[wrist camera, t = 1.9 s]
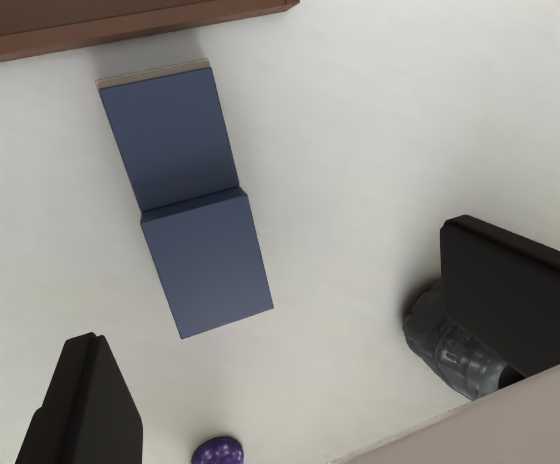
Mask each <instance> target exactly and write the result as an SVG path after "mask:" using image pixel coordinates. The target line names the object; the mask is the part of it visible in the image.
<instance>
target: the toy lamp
mask: <svg viewBox="0 0 560 464" xmlns="http://www.w3.org/2000/svg"><path fill="white" fill-rule="evenodd" d="M243 459H244V453H243V449H242V447H241V445H240V444H239V443H238V442H237V441H236V440H233V439H230V438H216V439H213V440H210V441H208V442H206V443H205V444H203V445H202V446H201V447H199V448H198V449H197V451H196V452H195V453H194V455H193V458H192V463H191V464H243Z"/></svg>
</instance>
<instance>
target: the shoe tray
mask: <svg viewBox="0 0 560 464" xmlns="http://www.w3.org/2000/svg"><path fill="white" fill-rule="evenodd" d="M298 3H300V0H0V62H4V61H10V60H15V59H21V58H26V57H32V56H38V55H43V54H49V53H54V52H60V51H66V50H71V49H77V48H82V47H88V46H94V45H99V44H105V43H110V42H116V41H122V40H127V39H133V38H138V37H144V36H150V35H155V34H161V33H166V32H172V31H178V30H183V29H189V28H194V27H200V26H205V25H211V24H217V23H222V22H228V21H233V20H239V19H245V18H250V17H256V16H261V15H267V14H273V13H278V12H284V11H287V10H288V9H290V8H292V7H293V6H295V5H297V4H298Z"/></svg>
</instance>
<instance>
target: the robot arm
mask: <svg viewBox="0 0 560 464" xmlns="http://www.w3.org/2000/svg"><path fill="white" fill-rule="evenodd" d="M440 257H441V287H442V308H443V311H444V313H445V314H446V316H447V317H448V318H449V319H451V320H452V321H453V322H454V323H456V324H457V325H458V326H460V327H461V328H462V329H463V330H465V331H466V332H467V333H469V334H470V335H471V336H473V337H474V338H475V339H476V340H478V341H479V342H480V343H482V344H483V345H484V346H485V347H487V348H488V349H489V350H491V351H492V352H493V353H494V354H496V355H497V356H498V357H500V358H501V359H502V360H504V361H505V362H506V363H507V364H509V365H510V366H511V367H513V368H514V369H515V370H516V371H518V372H519V373H520V374H522V375H523V376H524V377H526V379H524V380H522V381H519V382H517V383H514V384H512V385H510V386H507V387H505V388H502V389H500V390H498V391H495V392H493V393H491V394H488V395H486V396H484V397H481V398H479V399H477V400H474V401H472V402H470V403H467V404H465V405H463V406H460V407H458V408H455V409H453V410H451V411H448V412H446V413H444V414H441V415H439V416H437V417H434V418H432V419H430V420H427V421H425V422H423V423H420V424H418V425H416V426H413V427H411V428H409V429H406V430H404V431H402V432H399V433H397V434H395V435H392V436H390V437H388V438H385V439H383V440H381V441H378V442H376V443H374V444H372V445H369V446H367V447H365V448H362V449H360V450H358V451H355V452H353V453H351V454H348V455H346V456H344V457H342V458H339V459H337V460H335V461H332V462H330V463H328V464H560V251H558V250H556V249H553V248H550V247H548V246H545V245H543V244H540V243H538V242H535V241H533V240H530V239H528V238H525V237H523V236H520V235H518V234H515V233H512V232H510V231H507V230H505V229H502V228H500V227H497V226H495V225H492V224H490V223H487V222H485V221H482V220H480V219H477V218H474V217H472V216H469V215H462V216H458V217H455V218H452V219H449V220H446V221H445V222H444V225H443V227H442V228H441V229H440ZM142 447H143V425H142V421H141V417H140V415H139V412H138V410H137V408H136V405H135V403H134V401H133V399H132V396H131V394H130V392H129V390H128V387H127V385H126V383H125V381H124V378H123V376H122V374H121V372H120V369H119V367H118V365H117V363H116V360H115V358H114V356H113V353H112V351H111V349H110V347H109V344H108V342H107V340H106V338H105V337H104V336H103V335H100V336H96V335H95V334H94V333H93V332H90V333H87V334H84V335H81V336H77V337H74V338H71V339H68V340H66V342H65V344H64V347H63V349H62V352H61V355H60V358H59V360H58V363H57V366H56V368H55V371H54V374H53V377H52V379H51V382H50V385H49V388H48V390H47V393H46V396H45V399H44V401H43V404H42V407H40V408H39V409H37V410H36V412H35V413H34V415H33V417H32V420H31V423H30V425H29V428H28V430H27V433H26V436H25V438H24V441H23V444H22V446H21V449H20V451H19V454H18V457H17V459H16V462H15V464H142Z"/></svg>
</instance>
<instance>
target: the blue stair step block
mask: <svg viewBox="0 0 560 464" xmlns="http://www.w3.org/2000/svg"><path fill="white" fill-rule="evenodd" d="M95 83H96V86H97V89H98V92H99V94H100V97H101V100H102V103H103V106H104V109H105V111H106V114H107V117H108V120H109V123H110V126H111V129H112V131H113V134H114V137H115V140H116V143H117V146H118V149H119V151H120V154H121V157H122V160H123V163H124V166H125V168H126V171H127V174H128V177H129V180H130V183H131V186H132V188H133V191H134V194H135V197H136V200H137V203H138V206H139V208H140V211H141V222H140V225H141V228H142V231H143V233H144V236H145V239H146V242H147V245H148V247H149V250H150V253H151V256H152V259H153V261H154V264H155V267H156V270H157V273H158V275H159V278H160V281H161V284H162V287H163V290H164V292H165V295H166V298H167V301H168V304H169V306H170V309H171V312H172V315H173V318H174V320H175V323H176V326H177V329H178V332H179V334H180V337H181V339H184V338H187V337H190V336H193V335H196V334H199V333H202V332H205V331H208V330H211V329H214V328H217V327H220V326H223V325H226V324H229V323H232V322H234V321H237V320H240V319H243V318H246V317H249V316H252V315H255V314H258V313H261V312H264V311H267V310H270V309H273V308H274V307H273V303H272V298H271V294H270V290H269V286H268V281H267V277H266V273H265V269H264V264H263V260H262V256H261V252H260V247H259V243H258V239H257V234H256V230H255V226H254V222H253V217H252V213H251V209H250V205H249V200H248V196H247V194H246V193H245V192H244V191H243V190H242V188H241V187H240V186H239V180H238V176H237V172H236V168H235V164H234V159H233V155H232V151H231V147H230V143H229V139H228V134H227V130H226V126H225V122H224V118H223V114H222V109H221V105H220V101H219V97H218V93H217V89H216V84H215V80H214V76H213V72H212V68H211V67H210V63H209V60H208V59H202V60H197V61H192V62H187V63H181V64H176V65H171V66H166V67H161V68H156V69H151V70H146V71H141V72H136V73H130V74H125V75H120V76H115V77H110V78H105V79H100V80H96V81H95Z"/></svg>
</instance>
